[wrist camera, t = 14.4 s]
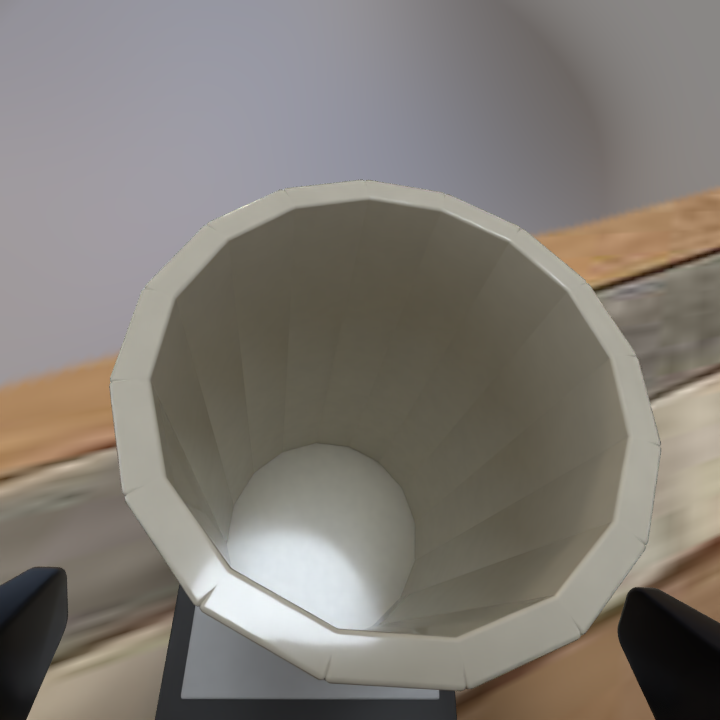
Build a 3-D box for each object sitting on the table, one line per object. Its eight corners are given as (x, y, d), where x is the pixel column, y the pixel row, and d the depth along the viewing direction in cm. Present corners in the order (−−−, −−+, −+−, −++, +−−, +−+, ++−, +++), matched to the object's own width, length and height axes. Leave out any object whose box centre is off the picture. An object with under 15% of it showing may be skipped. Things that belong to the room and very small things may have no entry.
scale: (440, 731, 17) (466, 745, 14) (163, 733, 15) (145, 748, 13) (423, 425, 22) (440, 401, 20) (219, 410, 21) (213, 382, 19)
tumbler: (453, 609, 16) (771, 549, 6) (242, 695, 14) (162, 836, 4) (381, 420, 19) (508, 161, 9) (198, 469, 17) (86, 209, 7)
